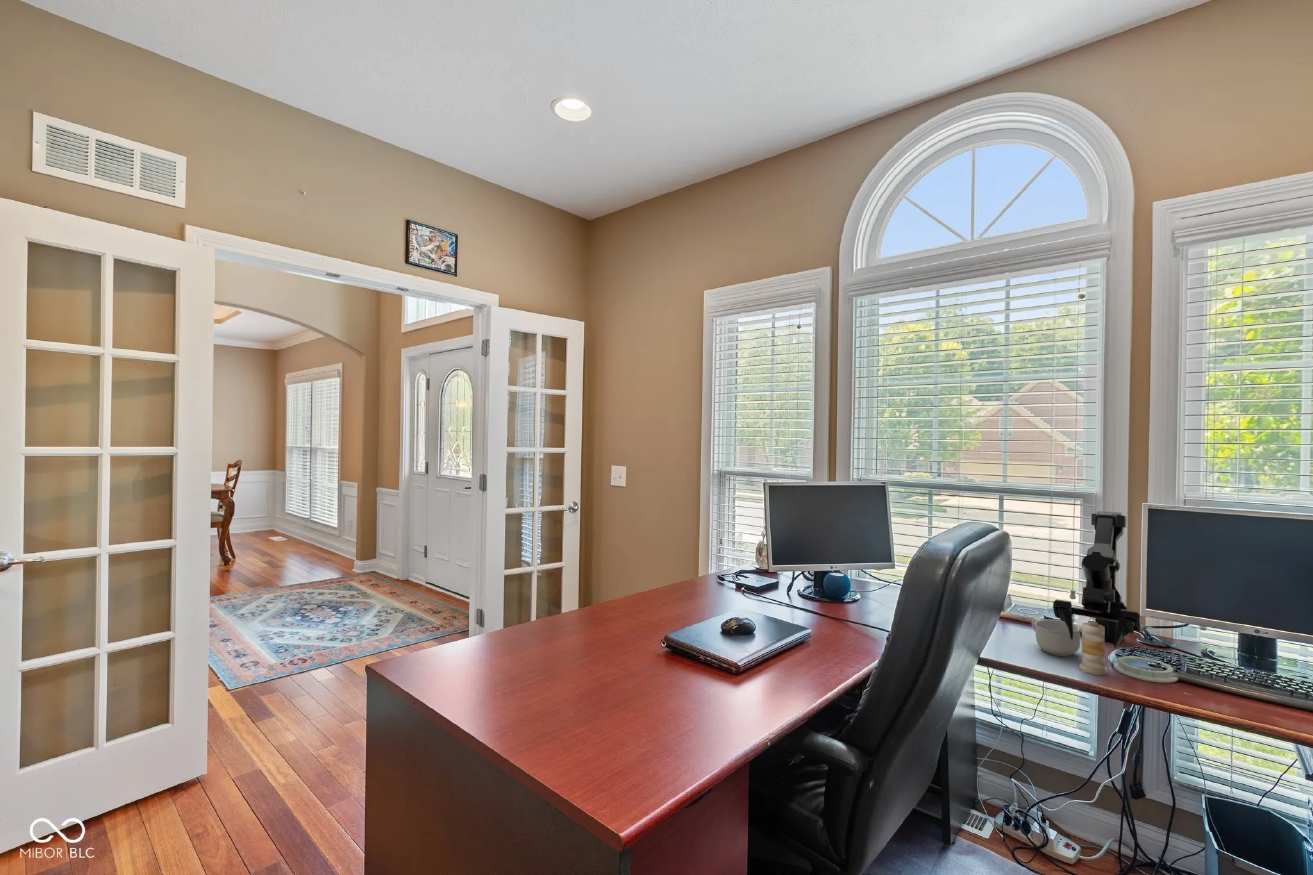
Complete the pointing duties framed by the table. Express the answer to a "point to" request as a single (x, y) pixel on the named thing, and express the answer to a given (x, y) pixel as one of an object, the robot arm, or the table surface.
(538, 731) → the table surface
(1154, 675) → the ring dish
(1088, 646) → the bead column
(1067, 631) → the teacup
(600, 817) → the table surface
